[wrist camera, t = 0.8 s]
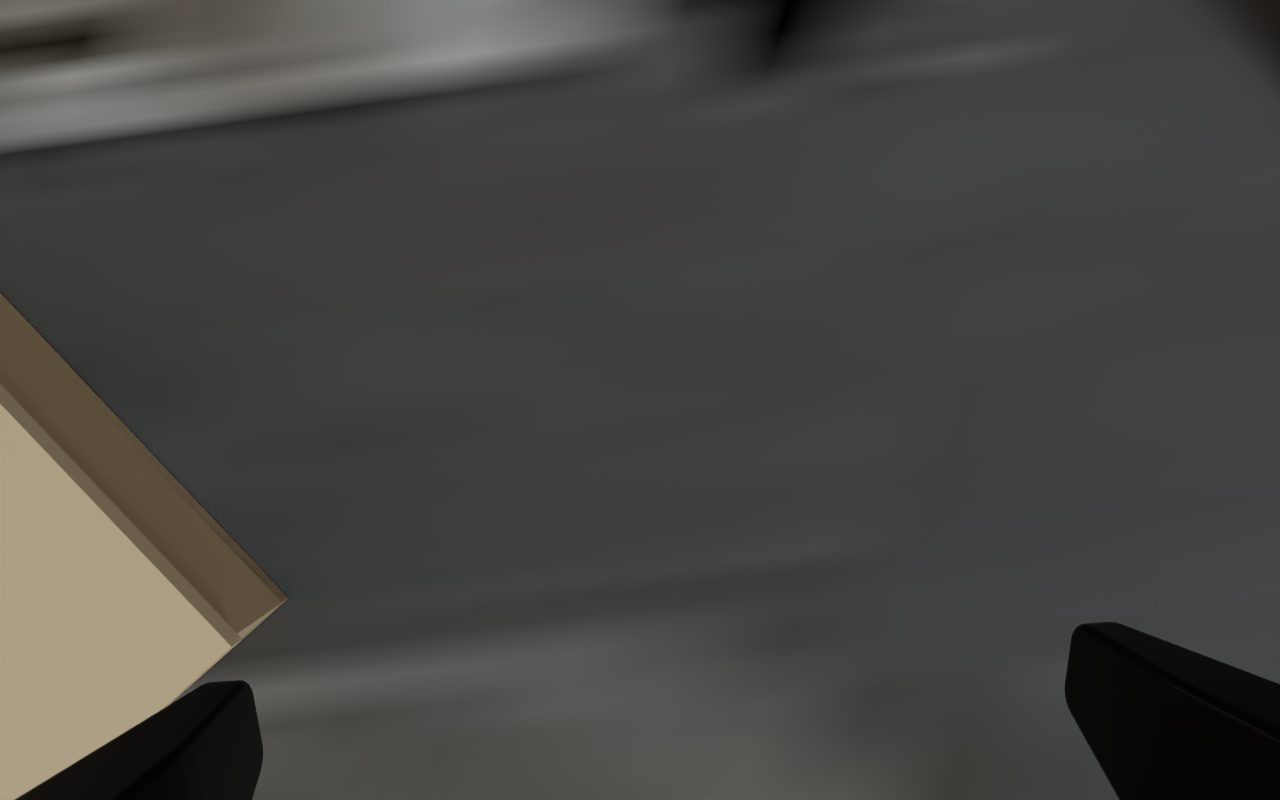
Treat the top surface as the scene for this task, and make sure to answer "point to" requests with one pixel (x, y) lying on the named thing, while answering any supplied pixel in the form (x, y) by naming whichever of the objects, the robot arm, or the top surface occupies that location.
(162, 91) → the top surface
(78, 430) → the carton
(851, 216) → the top surface
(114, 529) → the carton lid
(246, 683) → the robot arm
